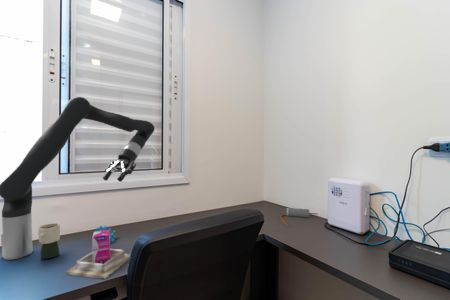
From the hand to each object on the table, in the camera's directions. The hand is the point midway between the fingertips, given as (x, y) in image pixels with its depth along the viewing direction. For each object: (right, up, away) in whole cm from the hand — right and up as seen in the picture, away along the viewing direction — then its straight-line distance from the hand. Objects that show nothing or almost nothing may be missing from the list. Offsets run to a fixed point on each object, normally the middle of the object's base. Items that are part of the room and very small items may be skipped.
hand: (111, 180), depth 103 cm
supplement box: (+3, -30, -13) cm, 33 cm away
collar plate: (+3, -31, -13) cm, 34 cm away
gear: (-6, -31, +7) cm, 32 cm away
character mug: (-22, -31, -7) cm, 39 cm away
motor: (+95, -30, +35) cm, 106 cm away
